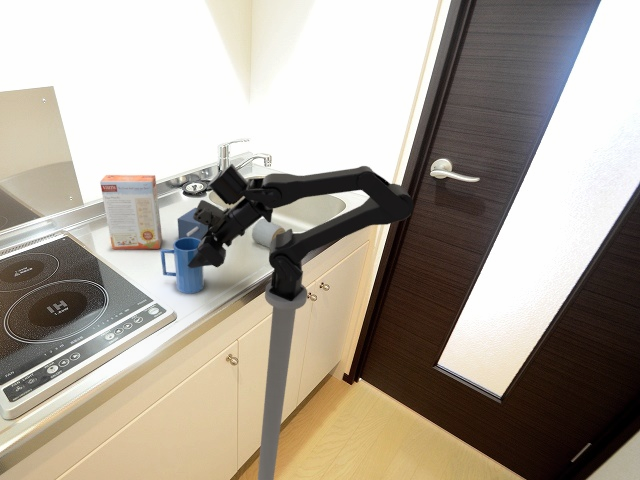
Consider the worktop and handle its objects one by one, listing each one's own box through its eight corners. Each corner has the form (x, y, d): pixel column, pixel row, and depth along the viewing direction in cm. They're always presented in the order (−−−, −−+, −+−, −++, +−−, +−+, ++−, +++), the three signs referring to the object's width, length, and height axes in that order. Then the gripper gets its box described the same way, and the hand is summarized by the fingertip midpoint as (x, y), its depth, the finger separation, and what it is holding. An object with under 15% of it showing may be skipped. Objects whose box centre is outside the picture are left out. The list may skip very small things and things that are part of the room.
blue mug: (206, 279, 95) (204, 238, 89) (200, 294, 89) (199, 252, 83) (167, 276, 96) (163, 235, 90) (160, 291, 90) (155, 248, 84)
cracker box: (162, 240, 113) (156, 174, 102) (159, 250, 108) (152, 181, 97) (117, 240, 112) (105, 173, 101) (111, 249, 107) (99, 180, 96)
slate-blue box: (195, 227, 122) (195, 207, 118) (216, 232, 119) (216, 212, 115) (169, 246, 110) (167, 225, 106) (191, 252, 107) (190, 230, 103)
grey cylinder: (271, 254, 107) (273, 230, 103) (250, 244, 112) (252, 221, 108) (292, 242, 114) (295, 220, 110) (272, 234, 118) (274, 212, 115)
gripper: (221, 178, 87) (178, 217, 93) (206, 208, 71) (156, 253, 78) (252, 211, 90) (209, 246, 97) (245, 247, 74) (194, 286, 81)
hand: (193, 256), depth 88 cm, fingers open, 9 cm apart
